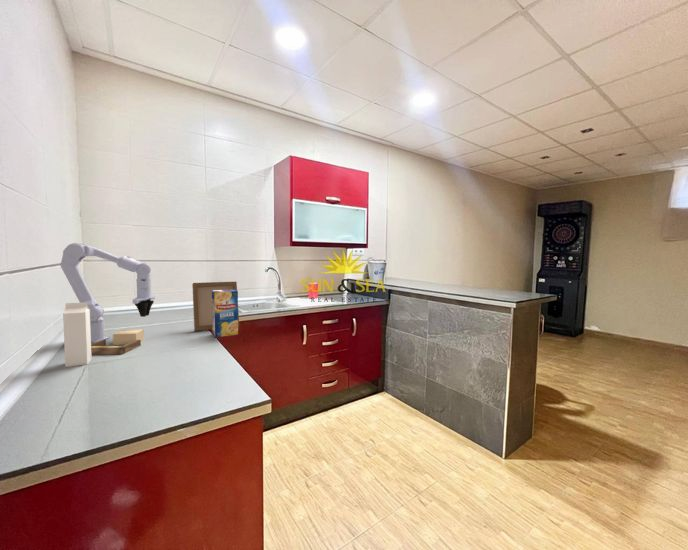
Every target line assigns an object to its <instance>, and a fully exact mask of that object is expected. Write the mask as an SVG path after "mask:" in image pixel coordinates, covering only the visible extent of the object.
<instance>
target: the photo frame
mask: <svg viewBox="0 0 688 550" xmlns="http://www.w3.org/2000/svg"><path fill="white" fill-rule="evenodd" d="M215 290H237V291H238V283H237V281H214V282H193V283H192V303H193V304H192V309H193V329H194V330H193V331H194V332H195V331H206V330H207V331H208V330H212V291H215ZM238 327H240V315H239V311H238Z"/></svg>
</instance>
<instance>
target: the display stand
mask: <svg viewBox="0 0 688 550" xmlns="http://www.w3.org/2000/svg"><path fill="white" fill-rule="evenodd" d="M106 342H107V341H106V339H104V340H100V341H97V342H91V355H124V354H126V353H128V352H131V351H132V350H134V349H136V348H139V347H141V345H142V341H141V340H135V341H133V342H131V343H129V344H125V345H121V346H120V345H110V346H109V345H108V346H107V344H106Z"/></svg>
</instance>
